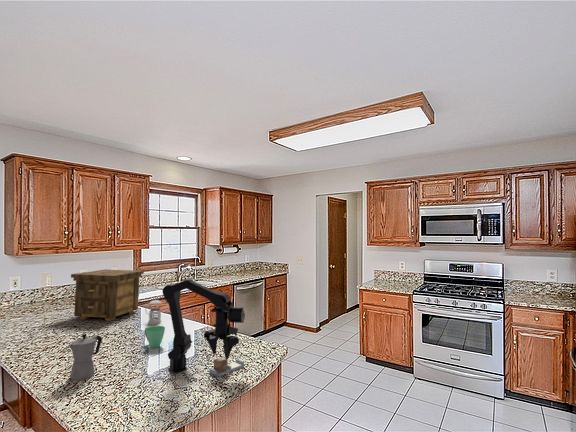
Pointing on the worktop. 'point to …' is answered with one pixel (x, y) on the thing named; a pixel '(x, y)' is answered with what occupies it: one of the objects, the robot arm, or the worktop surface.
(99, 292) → the wooden drawer cabinet
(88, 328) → the worktop surface
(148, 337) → the green cup
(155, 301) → the french press
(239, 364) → the bracket
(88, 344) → the coffeepot
